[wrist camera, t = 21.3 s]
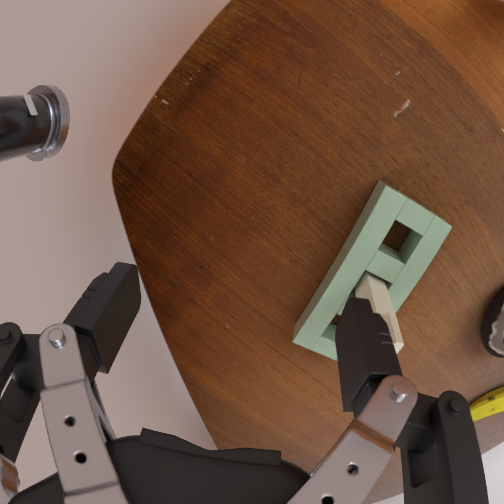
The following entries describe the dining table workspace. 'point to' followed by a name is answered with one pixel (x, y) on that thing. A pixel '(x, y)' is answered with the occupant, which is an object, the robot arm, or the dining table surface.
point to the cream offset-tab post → (380, 303)
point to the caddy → (372, 262)
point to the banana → (488, 404)
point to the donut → (494, 326)
